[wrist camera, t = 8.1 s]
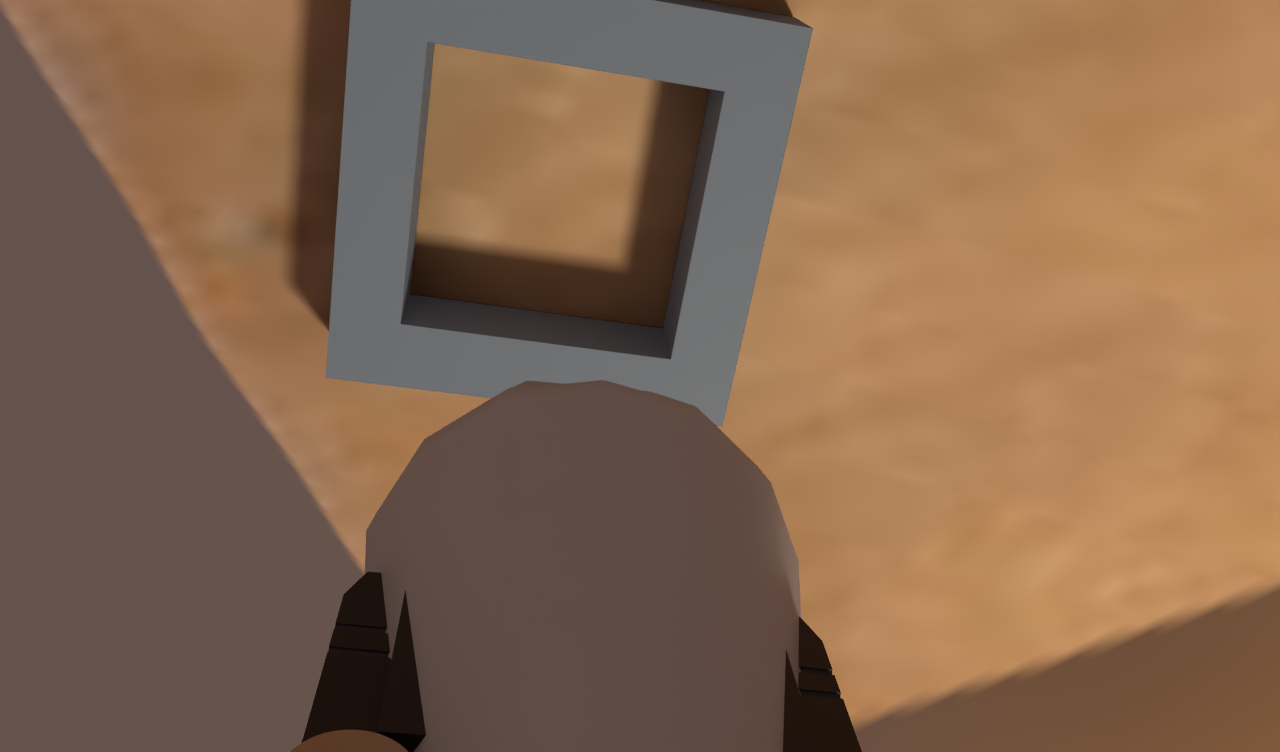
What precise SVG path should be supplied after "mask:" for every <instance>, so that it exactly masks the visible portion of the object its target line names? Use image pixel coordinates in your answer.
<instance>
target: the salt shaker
mask: <svg viewBox="0 0 1280 752" xmlns="http://www.w3.org/2000/svg"><path fill="white" fill-rule="evenodd" d="M368 571H369V572H379V573H381V575H382V584H383V593H384V602H385V610H386V619H387V629H386V632H385V633H388V637H389V646H390V653H389V655H388V658H391V659H392V654H393V649H394V644H395V639H396V634H397V629H398V624H399V619H400V614H401V609H402V604H403V599H404V594H405V590H406V597H407V604H408V611H409V618H410V625H411V632H412V639H413V646H414V653H415V660H416V667H417V674H418V682H419V689H420V696H421V703H422V710H423V717H424V724H425V731H426V736H425V737H424V739H423V740H422V742H421V743H420V744H419V746H418V747H417V748H416V750H415V751H414V752H783V729H784V696H785V664H786V650H787V654H788V657H789V660H790V663H791V667H792V670H793V673H794V676H795V680H796V683H797V686H798V672H801V670H800V668H799V616H800V618H801V608H800V585H799V563H798V558H797V556H796V553H795V550H794V547H793V544H792V541H791V539H790V536H789V533H788V530H787V527H786V524H785V522H784V519H783V516H782V513H781V510H780V507H779V504H778V502H777V499H776V496H775V493H774V490H773V487H772V485H771V482H770V481H769V480H768V479H767V477H766V476H765V475H764V474H763V473H762V471H761V470H760V469H759V468H758V466H757V465H756V464H755V463H754V462H753V461H752V460H751V459H750V458H748V457H747V456H746V455H745V454H744V453H743V452H742V451H741V450H740V449H739V448H738V447H737V446H736V445H735V444H734V443H733V442H732V441H731V440H730V439H729V438H728V437H727V436H726V435H725V434H724V433H723V432H722V431H721V430H720V429H719V428H718V427H717V426H716V425H715V424H714V423H713V422H712V421H711V420H710V419H709V418H708V417H707V416H706V415H705V414H704V413H702V412H701V411H700V410H699V409H698V408H697V407H696V406H694V405H691V404H688V403H684V402H681V401H678V400H675V399H672V398H669V397H666V396H663V395H660V394H656V393H653V392H650V391H641V390H637V389H634V388H630V387H627V386H623V385H620V384H616V383H613V382H609V381H606V380H597V381H587V382H577V383H568V384H561V383H550V382H539V381H525V382H523V383H521V384H518V385H516V386H514V387H511V388H509V389H506V390H505V391H503V392H501V393H500V394H498V395H496V396H495V397H493V398H492V399H490V400H488V401H487V402H485V403H483V404H482V405H480V406H478V407H477V408H475V409H473V410H472V411H470V412H469V413H467V414H465V415H464V416H462V417H460V418H459V419H457V420H455V421H454V422H452V423H450V424H449V425H447V426H445V427H444V428H442V429H441V430H439V431H437V432H436V433H434V434H432V435H431V436H429V437H427V438H426V439H424V441H423V442H422V444H421V445H420V447H419V448H418V450H417V451H416V453H415V454H414V456H413V457H412V459H411V461H410V462H409V464H408V465H407V467H406V468H405V470H404V471H403V473H402V474H401V476H400V477H399V479H398V481H397V482H396V484H395V485H394V487H393V488H392V490H391V491H390V493H389V494H388V496H387V497H386V499H385V501H384V502H383V504H382V505H381V507H380V508H379V510H378V511H377V513H376V515H375V516H374V518H373V520H372V522H371V523H370V525H369V527H368V529H367V530H366V557H365V574H366V573H367V572H368ZM799 693H800V691H799ZM800 695H801V693H800Z"/></svg>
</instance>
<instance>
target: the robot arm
mask: <svg viewBox="0 0 1280 752" xmlns="http://www.w3.org/2000/svg"><path fill="white" fill-rule="evenodd" d="M386 629H387V619H386V610H385V602H384V593H383V584H382V575H381V573H379V572H369V571H368V572H367V573H366V574H365V575H364V576H363V577H362V578H361V579H359V580H358V581H357V582H356V583H355V584H354V585H353V586H352V587H351V588H350V589H349V590H348V591H347V592H346V593H345V594H344V595H343V599H342V603H341V606H340V610H339V613H338V617H337V620H336V625H335V629H334V631H333V634H332V638H331V642H330V645H329V651H328V653H327V656H326V659H325V663H324V666H323V670H322V673H321V677H320V680H319V684H318V688H317V691H316V695H315V698H314V702H313V705H312V709H311V712H310V716H309V719H308V723H307V727H306V730H305V734H304V737H303V740H302V742H301V744H299V745H298V746H296V747H295V748H294V749H292V751H291V752H414V751H415V750H416V748H417V747H418V746H419V744H420V743H421V742H422V740H423V739H424V737H425V736H426V731H425V724H424V717H423V710H422V703H421V696H420V689H419V682H418V674H417V667H416V660H415V653H414V646H413V639H412V632H411V625H410V618H409V611H408V604H407V597H406V590H405V594H404V599H403V604H402V609H401V614H400V619H399V624H398V629H397V634H396V639H395V644H394V649H393V654H392V659H391V658H388V655H389V653H390V646H389V637H388V633H385V632H386ZM799 668H800V670H801V672H798V686H797V683H796V680H795V676H794V673H793V670H792V667H791V663H790V660H789V657H788V654H787V650H786V664H785V696H784V729H783V752H862V751H861V748H860V745H859V743H858V740H857V737H856V734H855V731H854V728H853V726H852V723H851V720H850V717H849V715H848V712H847V709H846V706H845V703H844V701H843V699H841V698H840V694H841V692H840V689H839V687H838V684H837V681H836V678H835V675H832V667H831V664H830V662H829V659H828V656H827V653H826V650H825V648H824V645H823V642H822V640H821V639H820V638H819V637H818V636H817V635H816V634H815V633H814V632H813V631H812V629H811V628H810V627H809V626H808V625H807V624H806V623H805V622H804V621H803V620H802V619H801V618H800V616H799ZM799 691H800V693H801V695H800V693H799Z"/></svg>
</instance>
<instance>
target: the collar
mask: <svg viewBox="0 0 1280 752" xmlns="http://www.w3.org/2000/svg"><path fill="white" fill-rule="evenodd" d="M812 30H813V28H811V27H810V26H808V25H806V24H805V23H803V22H801V21H800V20H798V19H796V18H794V17H790V16H784V15H779V14H773V13H768V12H762V11H756V10H751V9H745V8H739V7H734V6H728V5H722V4H717V3H711V2H706V1H700V0H351V9H350V24H349V39H348V54H347V69H346V84H345V99H344V114H343V128H342V143H341V158H340V173H339V188H338V203H337V218H336V233H335V248H334V263H333V278H332V293H331V308H330V323H329V338H328V353H327V367H326V378H332V379H340V380H348V381H356V382H364V383H373V384H381V385H389V386H397V387H405V388H413V389H421V390H429V391H437V392H446V393H454V394H462V395H470V396H478V397H486V398H493V397H495V396H496V395H498V394H500V393H501V392H503V391H505V390H506V389H509V388H511V387H514V386H516V385H518V384H521V383H523V382H525V381H539V382H550V383H561V384H568V383H577V382H587V381H597V380H606V381H609V382H613V383H616V384H620V385H623V386H627V387H630V388H634V389H637V390H641V391H650V392H653V393H656V394H660V395H663V396H666V397H669V398H672V399H675V400H678V401H681V402H684V403H688V404H691V405H694V406H696V407H697V408H698V409H699V410H700V411H701V412H702V413H704V414H705V415H706V416H707V417H708V418H709V419H710V420H711V421H712V422H713V423H714V424H715V425H716V426H723V422H724V417H725V413H726V408H727V404H728V400H729V395H730V391H731V386H732V382H733V378H734V373H735V369H736V364H737V360H738V356H739V351H740V347H741V342H742V338H743V334H744V329H745V325H746V320H747V316H748V312H749V307H750V303H751V298H752V294H753V290H754V285H755V281H756V276H757V272H758V268H759V263H760V259H761V254H762V250H763V246H764V241H765V237H766V232H767V228H768V224H769V219H770V215H771V210H772V206H773V202H774V197H775V193H776V188H777V184H778V180H779V175H780V171H781V166H782V162H783V158H784V153H785V149H786V144H787V140H788V136H789V131H790V127H791V122H792V118H793V114H794V109H795V105H796V100H797V96H798V92H799V87H800V83H801V78H802V74H803V70H804V65H805V61H806V56H807V52H808V48H809V43H810V39H811V34H812ZM435 43H436V44H442V45H448V46H454V47H460V48H466V49H472V50H478V51H484V52H490V53H496V54H502V55H508V56H514V57H520V58H526V59H532V60H538V61H544V62H550V63H556V64H562V65H568V66H574V67H580V68H586V69H592V70H598V71H604V72H610V73H616V74H623V75H629V76H635V77H641V78H647V79H653V80H659V81H665V82H671V83H677V84H683V85H689V86H695V87H701V88H707V89H710V91H709V96H708V101H707V106H706V111H705V116H704V121H703V127H702V132H701V137H700V142H699V147H698V152H697V157H696V162H695V167H694V173H693V178H692V183H691V188H690V193H689V198H688V203H687V208H686V213H685V219H684V224H683V229H682V234H681V239H680V244H679V249H678V254H677V259H676V265H675V270H674V275H673V280H672V285H671V290H670V295H669V300H668V305H667V310H666V316H665V321H664V326H663V328H656V327H649V326H641V325H634V324H627V323H619V322H612V321H604V320H597V319H589V318H582V317H575V316H567V315H560V314H552V313H545V312H538V311H530V310H523V309H515V308H508V307H500V306H493V305H486V304H478V303H471V302H463V301H456V300H449V299H441V298H434V297H426V296H419V295H411V294H410V291H411V281H412V270H413V260H414V250H415V240H416V229H417V219H418V209H419V198H420V188H421V178H422V167H423V157H424V147H425V136H426V126H427V116H428V105H429V95H430V85H431V74H432V64H433V54H434V44H435Z"/></svg>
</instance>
